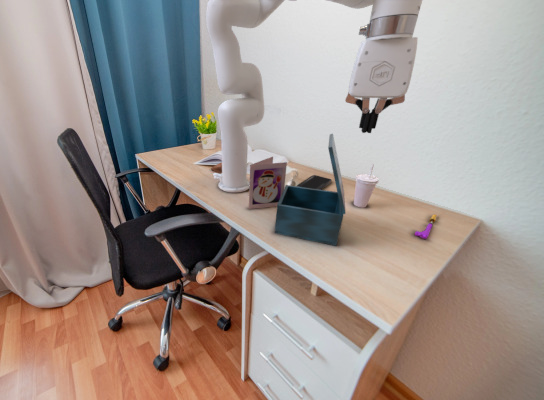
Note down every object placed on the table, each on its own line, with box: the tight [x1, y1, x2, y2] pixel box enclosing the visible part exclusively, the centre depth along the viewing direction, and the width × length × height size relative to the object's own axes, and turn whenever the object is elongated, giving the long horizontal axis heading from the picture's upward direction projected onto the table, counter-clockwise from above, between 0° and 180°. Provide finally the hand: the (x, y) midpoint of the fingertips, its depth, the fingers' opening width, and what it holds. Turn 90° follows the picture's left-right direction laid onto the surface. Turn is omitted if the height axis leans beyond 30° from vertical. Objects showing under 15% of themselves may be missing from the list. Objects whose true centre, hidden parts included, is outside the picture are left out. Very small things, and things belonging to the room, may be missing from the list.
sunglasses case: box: [210, 161, 222, 174], centre depth 113 cm, size 18×7×7 cm, turn 140°
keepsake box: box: [274, 184, 344, 247], centre depth 67 cm, size 16×14×9 cm
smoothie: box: [353, 163, 380, 208], centre depth 76 cm, size 6×6×14 cm
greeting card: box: [248, 156, 288, 210], centre depth 78 cm, size 11×7×15 cm, turn 99°
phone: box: [296, 174, 332, 190], centre depth 93 cm, size 8×1×15 cm
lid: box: [327, 133, 347, 216], centre depth 59 cm, size 16×14×1 cm
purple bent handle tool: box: [414, 214, 438, 240], centre depth 67 cm, size 3×1×16 cm
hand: (366, 131), depth 53 cm, fingers closed
